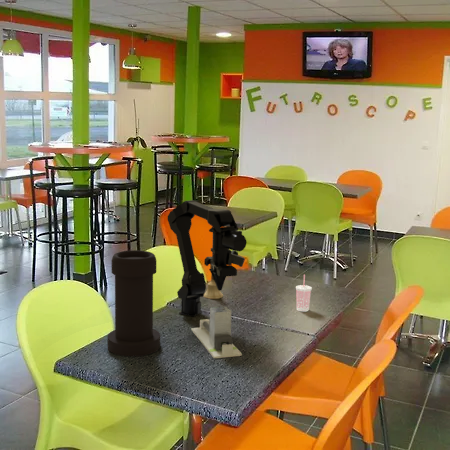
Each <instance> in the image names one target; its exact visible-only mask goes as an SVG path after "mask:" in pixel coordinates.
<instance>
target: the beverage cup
mask: <svg viewBox="0 0 450 450" xmlns="http://www.w3.org/2000/svg"><path fill="white" fill-rule="evenodd" d="M305 280H306V274H303V284H302V285H301V284H300V285H296V286H295V290H296V294H295V295H296V311H298V312H308V311H309V309H310V304H311V303H310V302H311V294H312V289H313V287H312V286H309V285H307V284H306V285H305Z"/></svg>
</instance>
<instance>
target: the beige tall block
mask: <svg viewBox="0 0 450 450" xmlns="http://www.w3.org/2000/svg"><path fill="white" fill-rule="evenodd" d="M209 325H210V337H209V342H210V344H211V345H212V346H213V347H214V348H215V336H224V335H231V334H232V333H231V331H232V330H231V329H232V310H231V309H229V307H227V306H216V307H213V306H212V307H210V308H209ZM231 336H232V335H231Z"/></svg>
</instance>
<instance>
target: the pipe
mask: <svg viewBox="0 0 450 450" xmlns="http://www.w3.org/2000/svg"><path fill="white" fill-rule="evenodd" d="M156 273H157V257H156V255H155V254H154V253H153V252H151V251H147V250H138V249H137V250H136V249H135V250H133V249H132V250H122V251H118V252H115V253H114V254H112V258H111V274H112V275H114V305H115V306H114V317H115V318H114V325H115V327H114V328H115V329H113V330H112V331H110V332H109V333H108V334H107V350H108V351H109V352H110V353H112V354H114V355H117V356H122V357H142V356H147V355H150V354H154V353H156V352H157V351H159V349H160V347H161V333H160V331H158V330H156V329H154V327H153V326H154V319H153V318H154V297H153V296H154V275H155V274H156Z"/></svg>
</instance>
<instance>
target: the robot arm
mask: <svg viewBox="0 0 450 450" xmlns="http://www.w3.org/2000/svg"><path fill="white" fill-rule="evenodd" d="M195 216H196V217H199V218H202V219H204V220H206V222H207V224H208V225H209V226H211V228H209V229H208V232H210V233H212V244H211V245H212V247H211V248H210V252H212V254H211V255H212V256H206V257H205V258H204V261H203V262H204V265H205V266H206V267H209V266H210V264H211V265H212V269H210V268H209V272H210V275H211V274H212V277H213V279H214V281H215V284H216V286H217V289H218V290H220V291H222V290H223V287H224V284H225V280H226V278H227V277H236V276H238V269H237V268H236V267H235V266H233V265H236V266H239V267H240V268H241V267H242V268H243V265H244V263H245V260H246V258H245V257H243V256H241V255H239V252H242V251H244V250H245V249H246V246H247V238H246V237H245V235H244V234H243V231H242V230H239V228H238V224H237V222H236V220H235V218H234V216H233V213H232V211H231V210H229V209H224V208H223V209H222V208H213V207H210V206H208V205H205V204H202V203H200V202H198V201H196V200H193V199H192V200H185V201H182V203H181V204H180V205H178V206H175V208H173V209H172V210H171V211H169V213H168V215H167V222H168V224H169V225H168V226H169V228H170V230H171V231H172V232H173V233H174V234H175V237H176V241H177V245H178V250H179V256H180V259H181V264H182V268H183V275H182V278H181V287H179V289H178V290H177V298H178V299H181V300H180V301H181V303H180V304H181V306H180V307H181V308H180V310H181V311H179V312H178V313H179V315H183V316H189V317H195V316H197V315H199V314H201V313H203V311H202V302H201V298H202V297H203V296H204V293H205V292H206V290H207V281H206V279H205V273H204V272H200V271H199V270H198V267H197V263H196V257H195V253H194V248H193V244H192V241H191V240H192V239H191V235H190V230H191V228H192V225H193V223H192V220H193V219H194V217H195ZM203 298H204V297H203Z"/></svg>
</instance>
